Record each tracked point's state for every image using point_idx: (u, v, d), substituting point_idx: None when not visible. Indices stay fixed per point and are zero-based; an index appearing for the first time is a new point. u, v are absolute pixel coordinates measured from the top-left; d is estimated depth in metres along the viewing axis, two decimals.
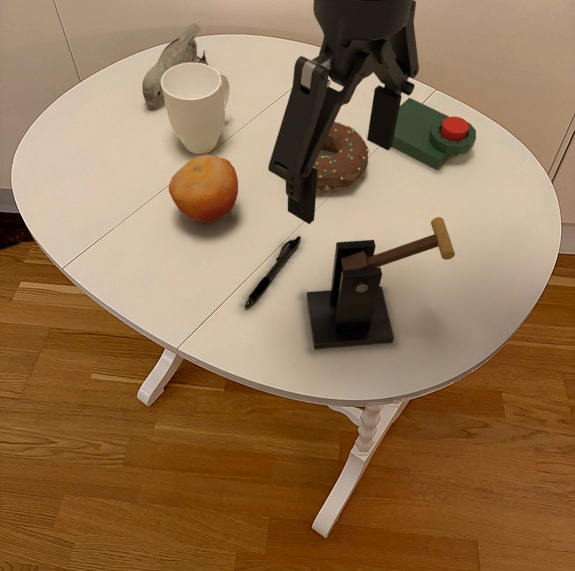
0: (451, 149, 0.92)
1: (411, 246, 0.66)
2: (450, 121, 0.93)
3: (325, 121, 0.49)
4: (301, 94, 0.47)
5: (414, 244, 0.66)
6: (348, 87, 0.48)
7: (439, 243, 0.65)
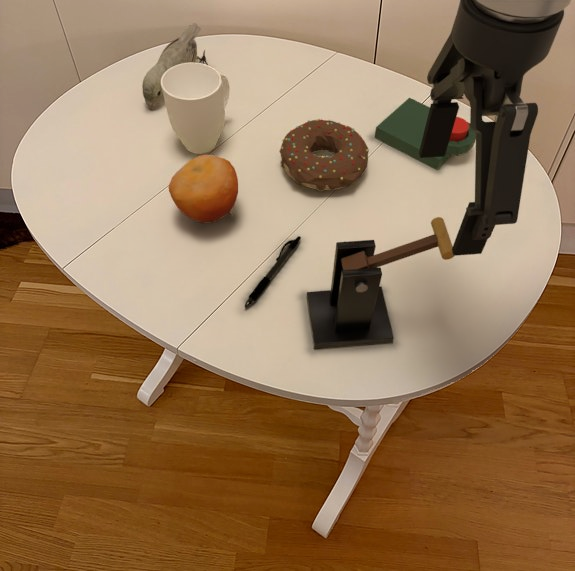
0: (451, 149, 0.92)
1: (411, 246, 0.66)
2: None
3: None
4: (512, 138, 0.45)
5: (414, 244, 0.66)
6: None
7: (439, 243, 0.65)
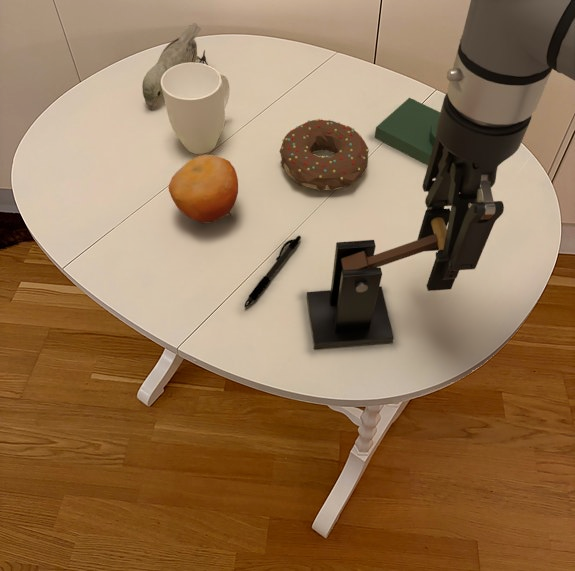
0: None
1: (411, 246, 0.66)
2: None
3: None
4: (479, 224, 0.55)
5: (414, 244, 0.66)
6: None
7: (439, 243, 0.65)
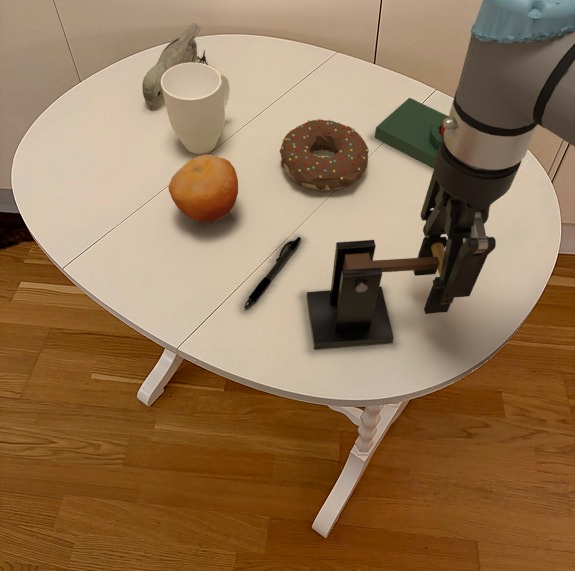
0: None
1: (414, 261, 0.69)
2: None
3: None
4: (473, 257, 0.59)
5: (417, 260, 0.69)
6: None
7: (441, 266, 0.68)
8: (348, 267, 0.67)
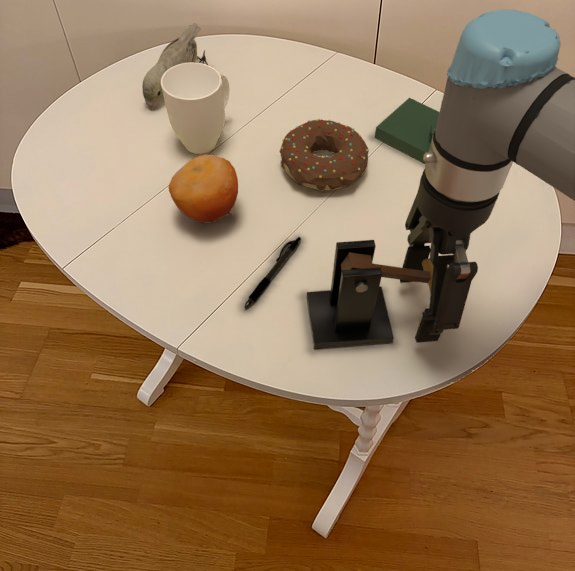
0: None
1: (409, 272, 0.70)
2: None
3: None
4: (457, 283, 0.60)
5: (411, 271, 0.70)
6: None
7: None
8: (352, 265, 0.67)
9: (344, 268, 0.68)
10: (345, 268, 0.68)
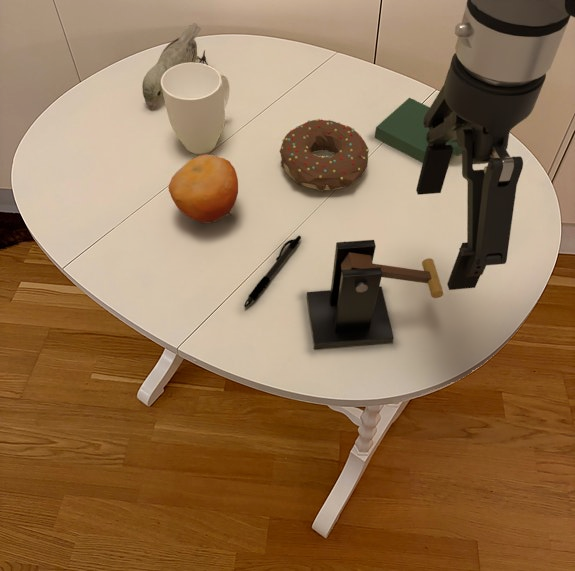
0: None
1: (409, 272, 0.70)
2: None
3: None
4: (500, 188, 0.49)
5: (411, 271, 0.70)
6: None
7: (432, 281, 0.71)
8: (352, 265, 0.67)
9: (344, 268, 0.68)
10: (345, 268, 0.68)
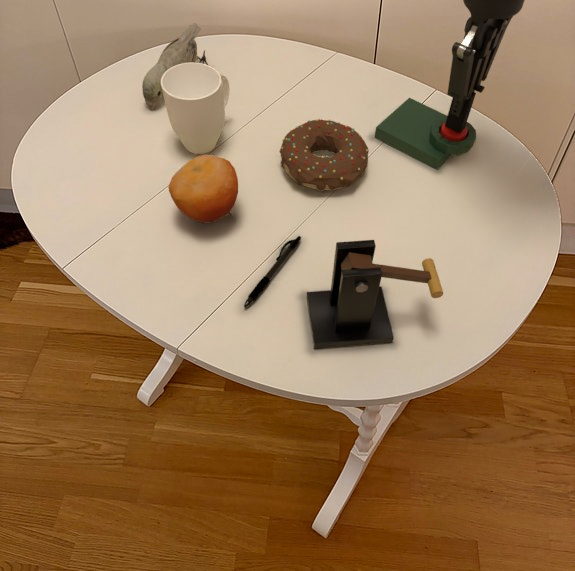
0: (451, 149, 0.92)
1: (409, 272, 0.70)
2: None
3: (474, 69, 0.82)
4: (459, 61, 0.79)
5: (411, 271, 0.70)
6: (485, 50, 0.79)
7: (432, 281, 0.71)
8: (352, 265, 0.67)
9: (344, 268, 0.68)
10: (345, 268, 0.68)
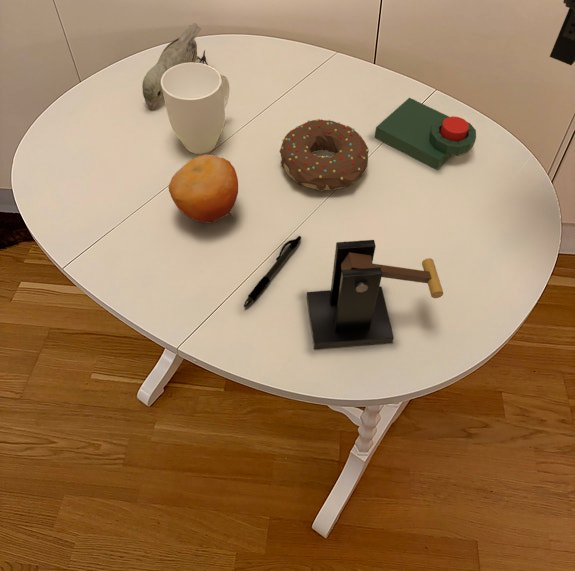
0: (451, 149, 0.92)
1: (409, 272, 0.70)
2: (450, 121, 0.93)
3: None
4: None
5: (411, 271, 0.70)
6: None
7: (432, 281, 0.71)
8: (352, 265, 0.67)
9: (344, 268, 0.68)
10: (345, 268, 0.68)
